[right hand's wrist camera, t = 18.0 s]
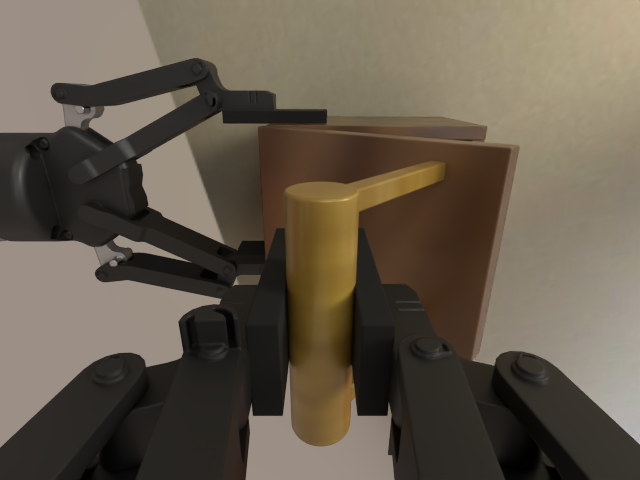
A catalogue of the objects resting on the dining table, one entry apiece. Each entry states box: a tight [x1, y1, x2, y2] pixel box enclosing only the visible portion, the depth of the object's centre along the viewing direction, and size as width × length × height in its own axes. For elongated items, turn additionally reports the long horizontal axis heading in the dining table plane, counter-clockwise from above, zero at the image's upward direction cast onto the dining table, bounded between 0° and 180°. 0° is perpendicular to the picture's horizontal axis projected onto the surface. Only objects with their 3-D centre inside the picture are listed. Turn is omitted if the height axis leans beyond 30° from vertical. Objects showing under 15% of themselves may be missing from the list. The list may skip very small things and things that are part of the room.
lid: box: [258, 126, 520, 446], centre depth 16 cm, size 13×9×9 cm
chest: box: [267, 117, 487, 142], centre depth 27 cm, size 13×9×9 cm
